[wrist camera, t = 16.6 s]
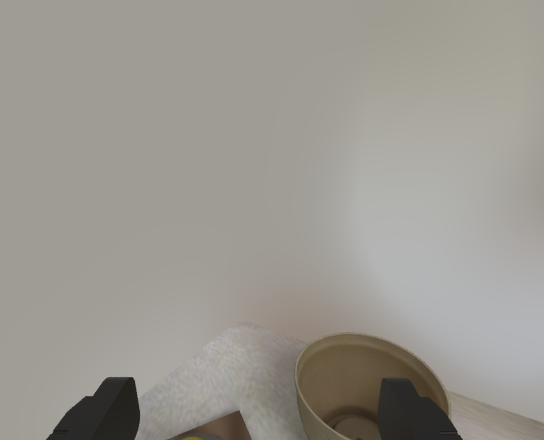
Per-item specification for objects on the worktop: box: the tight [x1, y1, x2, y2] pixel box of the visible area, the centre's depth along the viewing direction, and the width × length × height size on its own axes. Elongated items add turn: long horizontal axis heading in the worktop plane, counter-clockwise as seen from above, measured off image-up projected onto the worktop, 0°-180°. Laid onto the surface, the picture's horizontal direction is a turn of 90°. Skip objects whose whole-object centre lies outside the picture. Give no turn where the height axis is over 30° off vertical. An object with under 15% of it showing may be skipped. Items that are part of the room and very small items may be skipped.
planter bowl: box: [295, 333, 451, 440], centre depth 33 cm, size 16×16×11 cm
